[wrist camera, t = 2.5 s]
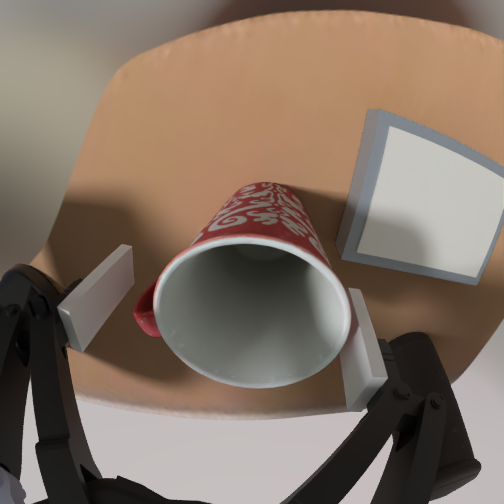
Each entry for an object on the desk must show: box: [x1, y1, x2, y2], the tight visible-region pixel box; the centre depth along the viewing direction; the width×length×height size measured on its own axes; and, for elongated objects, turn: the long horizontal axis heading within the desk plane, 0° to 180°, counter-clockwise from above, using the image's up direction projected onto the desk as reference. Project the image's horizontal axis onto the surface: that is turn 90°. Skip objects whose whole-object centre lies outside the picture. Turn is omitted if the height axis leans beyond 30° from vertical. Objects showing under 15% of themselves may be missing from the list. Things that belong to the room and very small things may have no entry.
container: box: [389, 333, 481, 501], centre depth 21 cm, size 9×9×20 cm
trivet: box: [335, 109, 504, 286], centre depth 20 cm, size 16×12×3 cm
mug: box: [133, 182, 352, 388], centre depth 18 cm, size 13×9×14 cm
